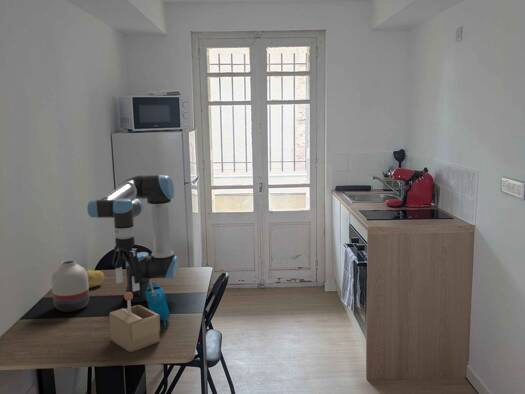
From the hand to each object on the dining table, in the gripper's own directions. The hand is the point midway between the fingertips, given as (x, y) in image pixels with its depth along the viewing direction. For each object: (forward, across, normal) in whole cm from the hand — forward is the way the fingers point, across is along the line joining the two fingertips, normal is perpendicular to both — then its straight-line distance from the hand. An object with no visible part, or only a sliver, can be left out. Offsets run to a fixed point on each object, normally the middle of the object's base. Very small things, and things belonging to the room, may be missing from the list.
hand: (127, 286), depth 213 cm
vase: (+25, -56, -1) cm, 62 cm away
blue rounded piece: (+25, -10, +20) cm, 34 cm away
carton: (+25, 0, +2) cm, 25 cm away
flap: (+13, 0, -1) cm, 13 cm away
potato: (+24, -77, +19) cm, 83 cm away
